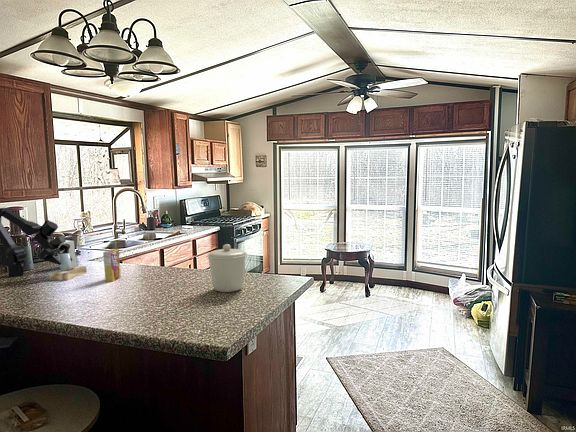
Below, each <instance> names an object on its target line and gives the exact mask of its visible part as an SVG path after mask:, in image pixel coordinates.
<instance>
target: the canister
mask: <svg viewBox="0 0 576 432" xmlns="http://www.w3.org/2000/svg"><path fill="white" fill-rule="evenodd" d="M247 255H248V253H247V252H245V251H244V250H242V249H237V248H232V246H231V244H228V243H226V244H223V245H222V248H221V249H215V250H212V251H210V252H209V253H207V255H206V257H207V258H208V263H209V270H210V278H211V283H212V287H213V289H214V291H217V292H220V293H231V292H233V293H234V292H237V291H239V290H241V289H242V287H243V286H244V279H245V278H244V277H245V269H246V267H245V266H246V256H247Z"/></svg>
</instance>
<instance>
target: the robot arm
mask: <svg viewBox="0 0 576 432" xmlns="http://www.w3.org/2000/svg"><path fill="white" fill-rule="evenodd" d="M2 218H3V219H6V220H7V221H9V222H11V223H13V224H14V225H16V226H17V227H18V228H19V229H20V231H21V232H22V233H23V234H25V235H26V236H31V238H30V243H37V244H38V245H39V246H40V249H41V252H40V253H39V254H38V259H39V260H40V261H42V260H43V261H46V262H49V263H52V264H56V265H58V266H59V265H60V264H61V262H60V261H59V260H58V257H57V256H56V255H55V254H56V253H57V255H58V254H63V253H69V249H70V245H69V244H62V245H61V246H60V244H61V243H63V242H66V241H65V240H67V237H66V236H64V235H63V234H62V235H60V236H58V237H56V238H50V237H51V236H52V235H53V234H54V233H55V232H56V231H57V230H58V228H59V226H58V224H57V223H55V222H53V221H51V220H48V219H47V220H45V221H44V223H43V224H42V225H40V224H38V223H37V222H34V221H30V220H27V219H26V218H23V217H22V216H20V215H19V214H17V213H15V212H14V211H12V210H11V209H10V208H8V207H0V243H1V244H2V245H3V247H4V249H5V256H6V258H5V259H4V260H3V262H2V264H3V265H4V267H7V277H8V278H12V277H20V276H24V266H23V265H22V264H24V263H25V260H26V258H27V251H26V250H25V248H24V247H23V246H22V245H17V244H16V243H15V241H14V240H13V238H12V236H11V235H10V234H9V233H8V231H7V229H6V228H5V226H4V224H3V223H2ZM59 246H60V247H59ZM70 259H71V261H72V258H71V256H70Z"/></svg>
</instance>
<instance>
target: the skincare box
mask: <svg viewBox="0 0 576 432" xmlns="http://www.w3.org/2000/svg"><path fill="white" fill-rule="evenodd" d="M65 241H66V242H63V243H61V244H60V246H61V245H62V244H69V245H70V249H69V253H70V256H71V258H72V261H71V266H77V259H76V250H75V249H76V248H75V240H67V239H66V240H65ZM60 246H59V247H60ZM57 259H58V260H59V261H60V256H59V254H58V253H57ZM58 268H60V265H58Z"/></svg>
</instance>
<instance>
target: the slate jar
mask: <svg viewBox="0 0 576 432" xmlns="http://www.w3.org/2000/svg"><path fill="white" fill-rule="evenodd" d="M59 256H60V262H61V264H60V267H59V268H60V269H59V271H70V270H71V259H70V253H63V254H59Z"/></svg>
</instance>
